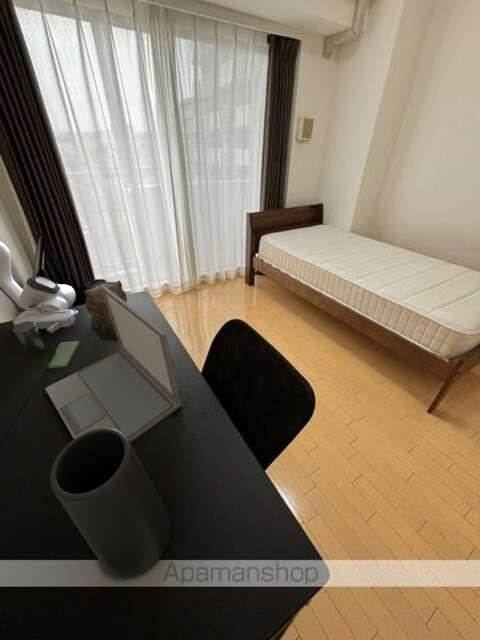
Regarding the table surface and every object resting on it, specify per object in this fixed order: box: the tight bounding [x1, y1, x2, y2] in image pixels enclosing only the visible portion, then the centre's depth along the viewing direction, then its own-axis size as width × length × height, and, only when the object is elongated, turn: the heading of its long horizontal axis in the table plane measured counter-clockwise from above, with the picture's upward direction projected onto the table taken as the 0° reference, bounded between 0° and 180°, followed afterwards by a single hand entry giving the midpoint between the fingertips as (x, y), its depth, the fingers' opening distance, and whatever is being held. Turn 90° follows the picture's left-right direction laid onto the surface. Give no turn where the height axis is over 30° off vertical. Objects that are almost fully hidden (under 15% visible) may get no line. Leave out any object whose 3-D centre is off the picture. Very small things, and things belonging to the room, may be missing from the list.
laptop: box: [44, 285, 182, 444], centre depth 77 cm, size 35×26×27 cm
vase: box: [49, 428, 172, 580], centre depth 49 cm, size 14×14×29 cm
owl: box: [83, 280, 128, 342], centre depth 106 cm, size 13×13×20 cm
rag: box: [45, 340, 81, 370], centre depth 101 cm, size 7×13×1 cm, turn 6°
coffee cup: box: [86, 278, 108, 290], centre depth 118 cm, size 8×8×15 cm
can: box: [12, 321, 49, 357], centre depth 99 cm, size 6×6×12 cm
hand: (35, 332), depth 101 cm, fingers open, 8 cm apart
